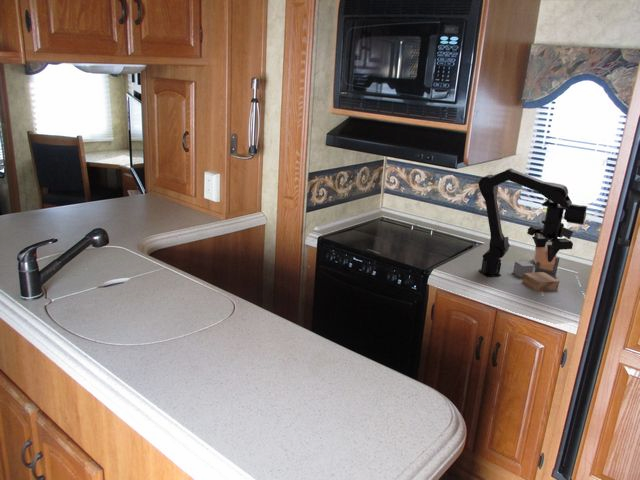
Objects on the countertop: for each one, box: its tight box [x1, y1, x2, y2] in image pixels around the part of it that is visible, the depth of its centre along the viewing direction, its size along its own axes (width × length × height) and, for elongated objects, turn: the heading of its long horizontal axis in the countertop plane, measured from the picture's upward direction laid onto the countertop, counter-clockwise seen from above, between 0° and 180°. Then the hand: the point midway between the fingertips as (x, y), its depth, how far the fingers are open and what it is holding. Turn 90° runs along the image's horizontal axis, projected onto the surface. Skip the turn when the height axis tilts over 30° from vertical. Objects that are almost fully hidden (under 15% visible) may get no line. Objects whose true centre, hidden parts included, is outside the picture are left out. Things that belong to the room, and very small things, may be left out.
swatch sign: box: [533, 256, 560, 279], centre depth 221 cm, size 8×5×8 cm, turn 66°
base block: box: [522, 272, 560, 293], centre depth 209 cm, size 9×9×4 cm
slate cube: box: [512, 260, 535, 279], centre depth 219 cm, size 5×5×5 cm
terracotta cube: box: [535, 247, 557, 265], centre depth 206 cm, size 5×5×5 cm
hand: (545, 259), depth 206 cm, fingers closed on terracotta cube, 5 cm apart
